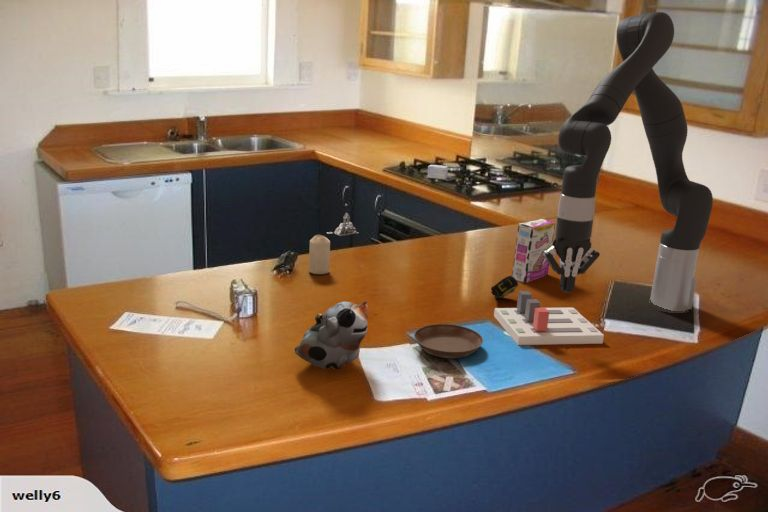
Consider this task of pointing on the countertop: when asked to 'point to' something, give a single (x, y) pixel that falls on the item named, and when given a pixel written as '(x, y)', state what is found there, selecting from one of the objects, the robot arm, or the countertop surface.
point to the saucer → (448, 340)
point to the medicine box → (437, 171)
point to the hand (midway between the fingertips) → (566, 291)
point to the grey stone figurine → (345, 229)
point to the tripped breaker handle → (541, 319)
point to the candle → (319, 255)
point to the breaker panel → (561, 324)
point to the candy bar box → (532, 250)
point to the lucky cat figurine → (335, 336)
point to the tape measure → (504, 287)
